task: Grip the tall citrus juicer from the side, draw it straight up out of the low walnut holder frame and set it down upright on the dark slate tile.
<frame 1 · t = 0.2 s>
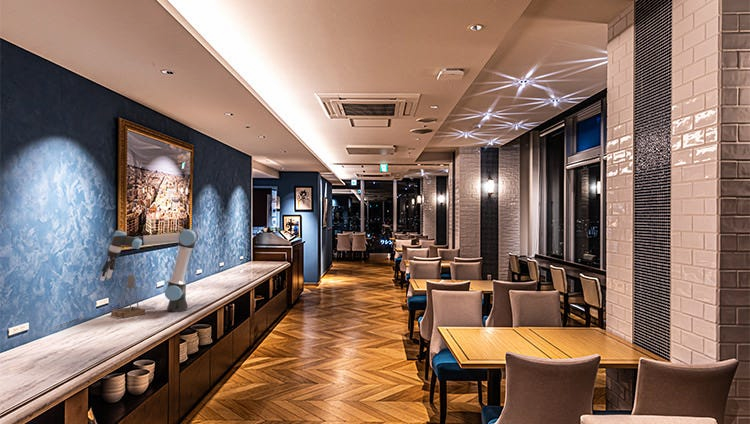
hand: (105, 279, 346), 27 cm above the table, tool tilted 15°, fingers open, 13 cm apart
holder frame: (128, 315, 350), on the table
slate tile: (141, 308, 372), on the table
citrus juicer: (128, 315, 350), resting in holder frame
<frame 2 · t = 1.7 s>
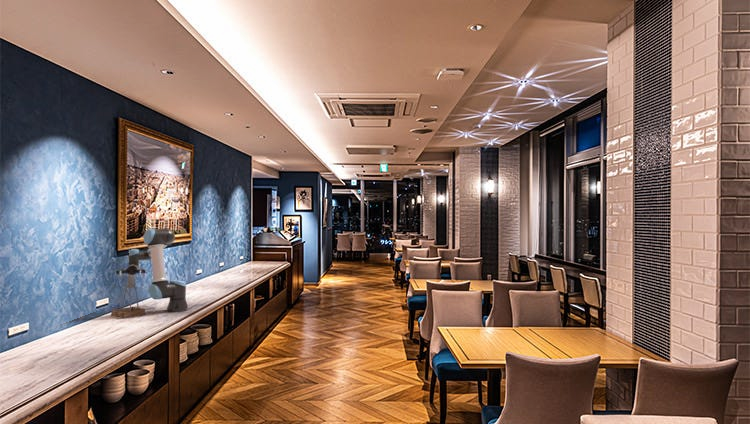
hand: (130, 273, 359), 30 cm above the table, tool horizontal, fingers open, 13 cm apart
nothing on the table moved.
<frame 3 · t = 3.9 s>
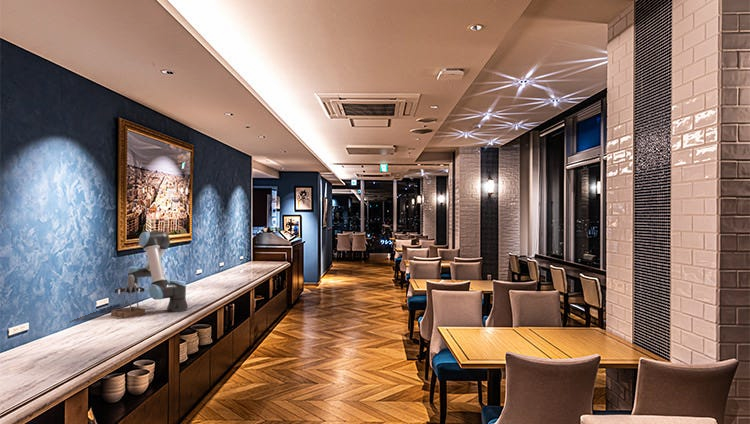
hand: (128, 292, 355), 16 cm above the table, tool horizontal, fingers open, 13 cm apart
nothing on the table moved.
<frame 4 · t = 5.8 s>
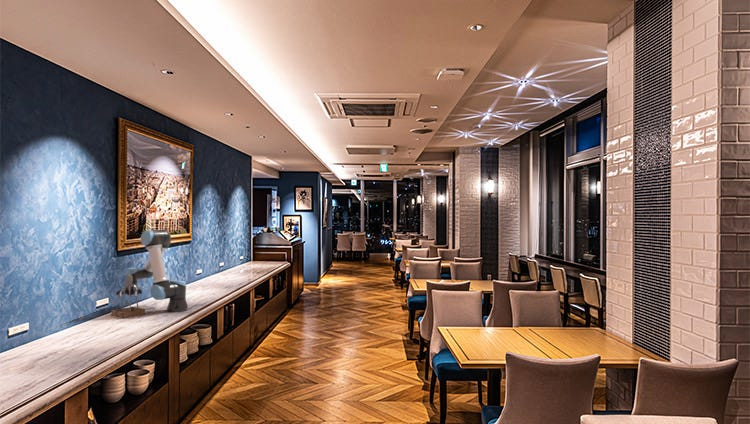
hand: (128, 294, 346), 16 cm above the table, tool horizontal, fingers open, 9 cm apart
citrus juicer: (128, 315, 350), resting in holder frame, touching gripper
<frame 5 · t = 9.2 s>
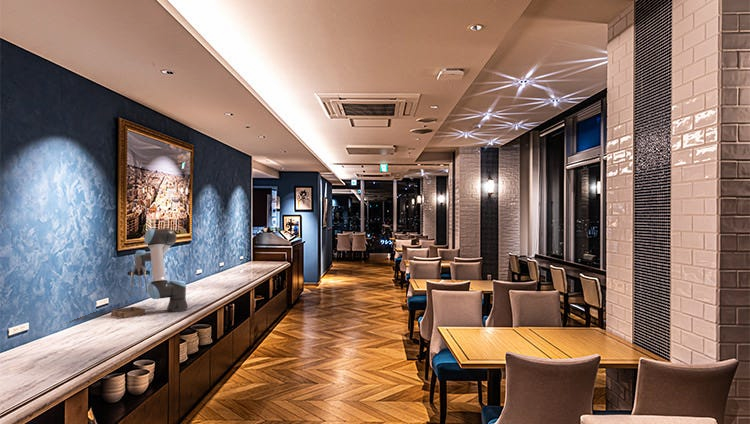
hand: (138, 274, 363), 28 cm above the table, tool horizontal, fingers closed on citrus juicer, 9 cm apart
citrus juicer: (137, 294, 368), point 12 cm above the table, touching gripper
when the fingers open (18 cm above the table, at t = 12.4 s): citrus juicer stays where it is, resting on slate tile.
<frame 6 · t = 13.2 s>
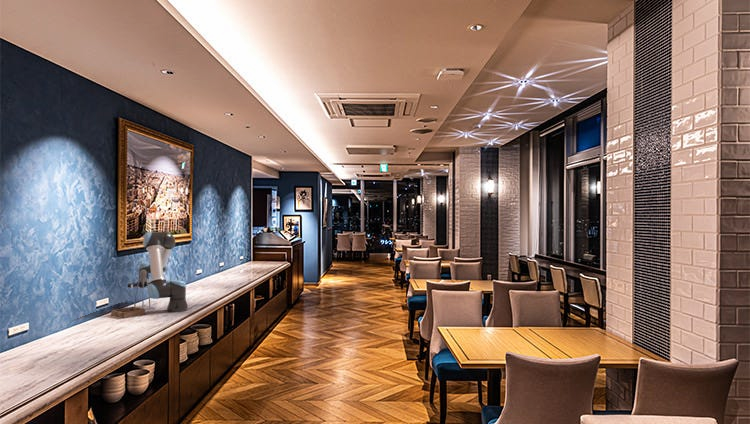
hand: (141, 286, 369), 18 cm above the table, tool horizontal, fingers open, 13 cm apart
citrus juicer: (140, 307, 372), point 1 cm above the table, touching slate tile
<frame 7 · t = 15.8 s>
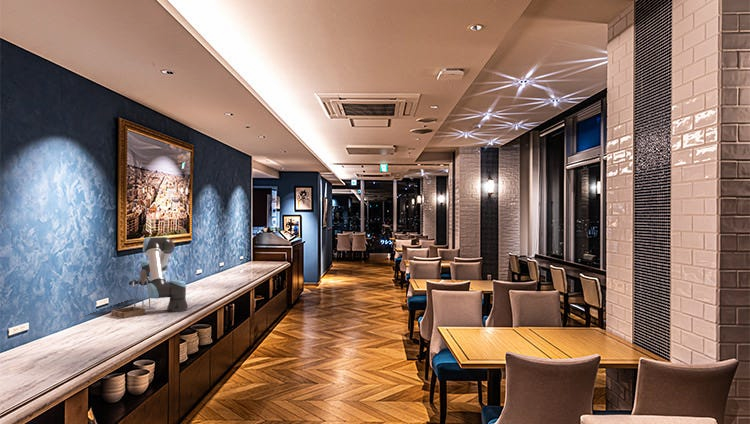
hand: (142, 284, 381), 18 cm above the table, tool horizontal, fingers open, 13 cm apart
citrus juicer: (140, 307, 372), point 1 cm above the table, touching arm, slate tile
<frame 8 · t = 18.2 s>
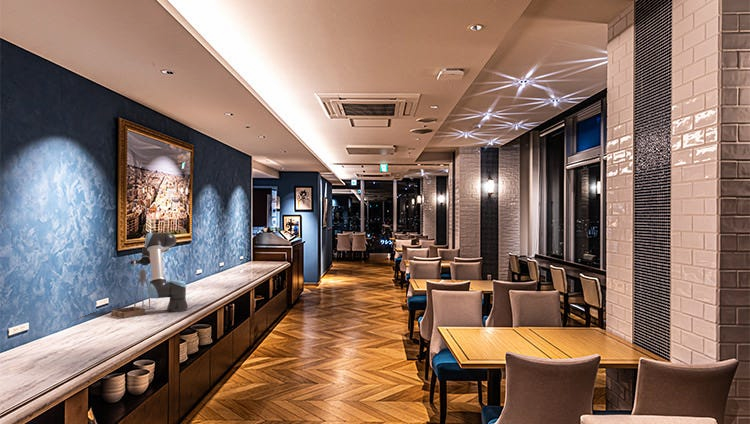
hand: (143, 263, 381), 35 cm above the table, tool horizontal, fingers open, 13 cm apart
citrus juicer: (140, 307, 372), point 1 cm above the table, touching slate tile
at the end: citrus juicer inside the target area on the slate tile (0.6 cm from its centre), point 0.8 cm above the slate tile's base; citrus juicer tilted 0°; the gripper is holding nothing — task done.
